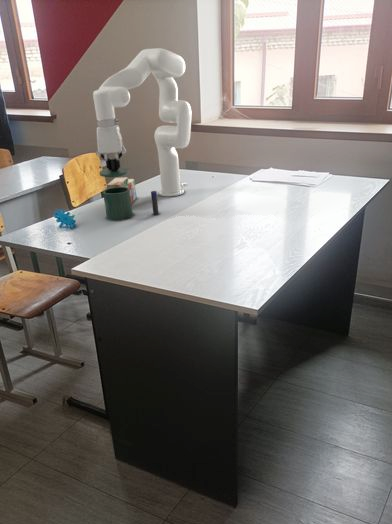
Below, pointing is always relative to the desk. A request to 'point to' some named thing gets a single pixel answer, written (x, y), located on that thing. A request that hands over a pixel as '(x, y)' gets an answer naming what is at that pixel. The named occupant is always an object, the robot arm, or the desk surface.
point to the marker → (154, 202)
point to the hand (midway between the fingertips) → (113, 169)
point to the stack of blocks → (124, 183)
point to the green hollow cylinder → (118, 203)
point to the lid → (114, 170)
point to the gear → (65, 219)
